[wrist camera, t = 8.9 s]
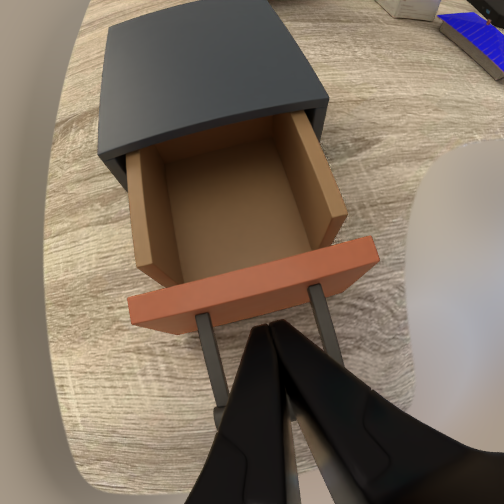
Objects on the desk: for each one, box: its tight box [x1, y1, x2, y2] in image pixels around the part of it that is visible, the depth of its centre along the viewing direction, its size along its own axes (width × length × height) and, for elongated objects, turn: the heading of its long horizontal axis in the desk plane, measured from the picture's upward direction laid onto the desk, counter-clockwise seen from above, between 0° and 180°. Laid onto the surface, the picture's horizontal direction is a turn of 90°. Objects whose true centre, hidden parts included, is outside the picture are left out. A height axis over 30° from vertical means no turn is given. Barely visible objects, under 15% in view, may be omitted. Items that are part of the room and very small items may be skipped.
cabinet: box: [97, 0, 329, 193], centre depth 21 cm, size 13×12×9 cm
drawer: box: [126, 110, 380, 431], centre depth 17 cm, size 18×11×7 cm, turn 14°
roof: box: [437, 12, 504, 80], centre depth 26 cm, size 12×12×5 cm
